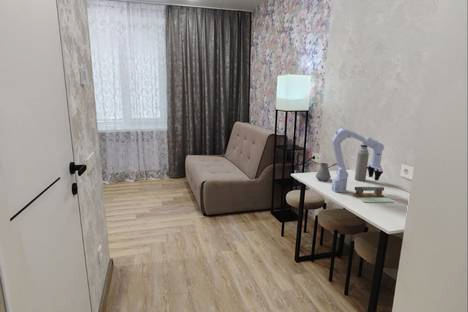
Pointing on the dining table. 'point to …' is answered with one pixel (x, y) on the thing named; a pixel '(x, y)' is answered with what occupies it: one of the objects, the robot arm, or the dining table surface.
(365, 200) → the pad
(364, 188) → the rail
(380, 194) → the rack
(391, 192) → the dining table surface
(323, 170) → the coffee pot
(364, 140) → the robot arm
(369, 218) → the dining table surface
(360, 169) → the thermos bottle
